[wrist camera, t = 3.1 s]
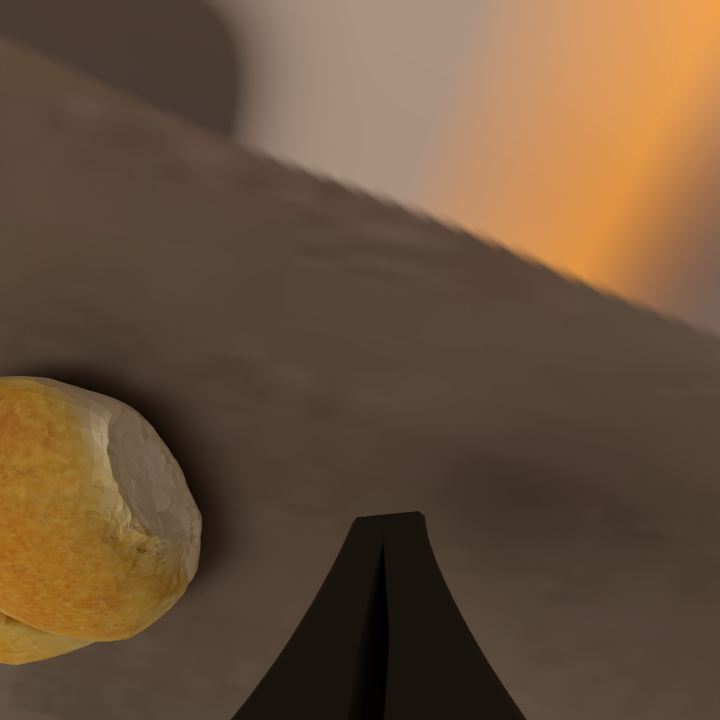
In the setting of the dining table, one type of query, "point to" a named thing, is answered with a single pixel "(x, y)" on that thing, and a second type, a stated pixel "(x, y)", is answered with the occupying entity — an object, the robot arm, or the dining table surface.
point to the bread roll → (86, 521)
